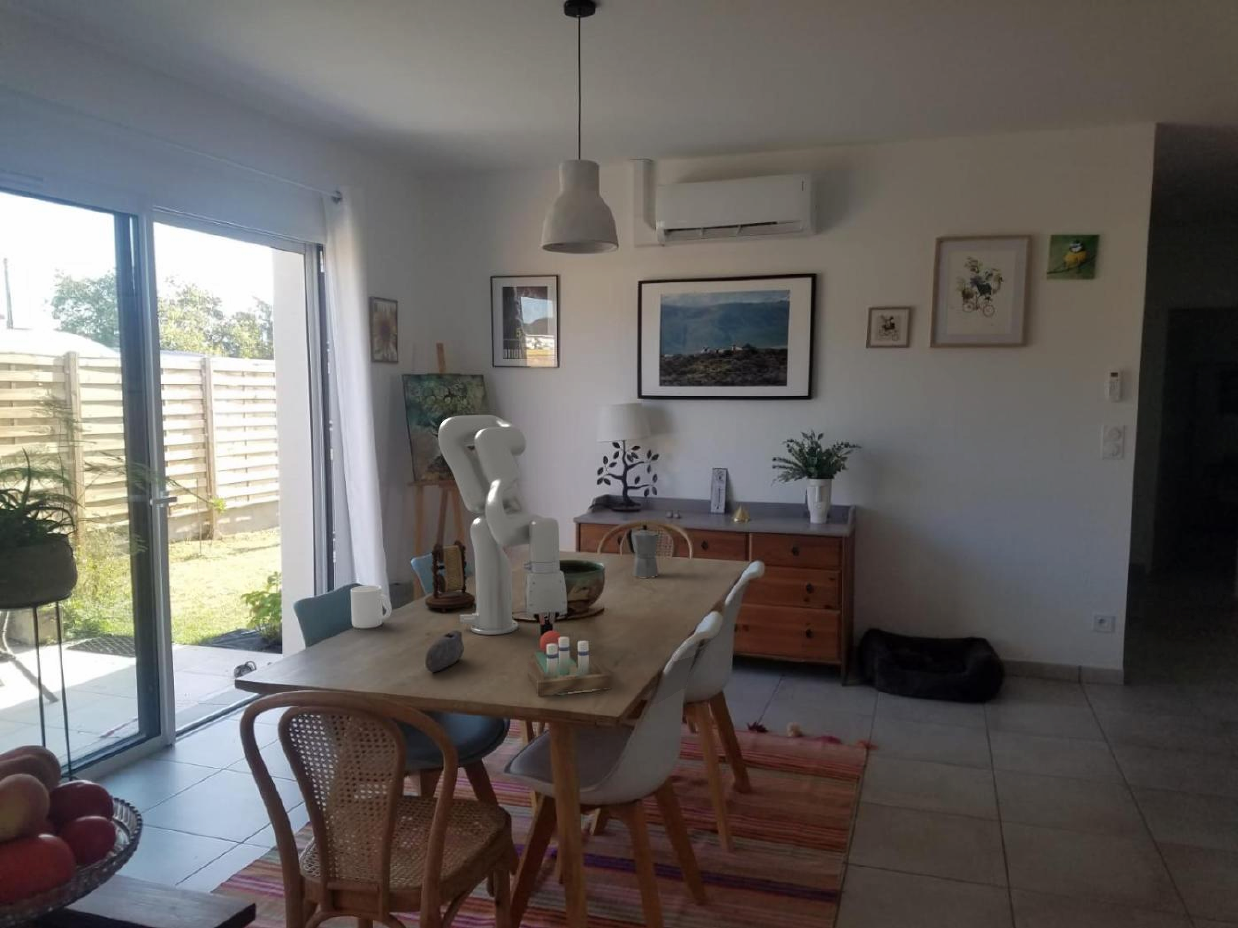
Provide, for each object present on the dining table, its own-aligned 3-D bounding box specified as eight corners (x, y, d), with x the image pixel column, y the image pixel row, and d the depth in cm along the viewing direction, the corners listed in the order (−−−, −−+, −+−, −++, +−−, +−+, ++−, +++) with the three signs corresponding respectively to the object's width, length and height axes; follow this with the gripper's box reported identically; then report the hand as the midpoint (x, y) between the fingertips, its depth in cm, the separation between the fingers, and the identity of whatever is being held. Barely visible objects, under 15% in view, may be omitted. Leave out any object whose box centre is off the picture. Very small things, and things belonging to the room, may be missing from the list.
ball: (540, 659, 199) (539, 634, 199) (540, 651, 205) (539, 628, 205) (564, 658, 200) (564, 634, 200) (564, 650, 206) (563, 627, 205)
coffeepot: (668, 576, 289) (668, 525, 287) (649, 580, 282) (649, 528, 281) (636, 570, 300) (636, 520, 298) (618, 574, 293) (617, 523, 292)
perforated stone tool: (436, 677, 188) (435, 647, 187) (416, 675, 189) (415, 645, 189) (469, 657, 202) (469, 629, 201) (450, 655, 203) (450, 628, 203)
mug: (400, 623, 233) (398, 586, 232) (382, 631, 225) (381, 593, 224) (364, 619, 237) (363, 584, 236) (345, 627, 229) (344, 590, 228)
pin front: (559, 676, 187) (558, 640, 186) (559, 673, 189) (558, 636, 189) (569, 676, 187) (569, 639, 186) (569, 672, 190) (569, 636, 189)
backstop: (538, 696, 175) (537, 682, 175) (527, 675, 188) (527, 662, 188) (611, 688, 179) (611, 675, 179) (596, 668, 192) (596, 655, 192)
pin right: (578, 681, 184) (577, 644, 183) (578, 677, 186) (577, 640, 185) (589, 681, 184) (588, 643, 183) (588, 677, 186) (588, 640, 186)
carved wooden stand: (440, 615, 240) (438, 547, 238) (416, 606, 251) (414, 541, 250) (484, 606, 250) (482, 541, 248) (459, 598, 261) (457, 535, 259)
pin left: (547, 684, 182) (546, 646, 181) (547, 680, 184) (546, 643, 184) (558, 684, 182) (557, 646, 181) (558, 680, 185) (557, 643, 184)
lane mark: (534, 653, 204) (534, 652, 204) (566, 650, 206) (566, 649, 206) (557, 695, 175) (557, 694, 175) (594, 691, 177) (594, 690, 177)
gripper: (517, 572, 204) (519, 645, 205) (576, 567, 208) (578, 639, 209) (513, 566, 211) (515, 637, 212) (570, 562, 215) (572, 631, 216)
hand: (546, 638), depth 211 cm, fingers closed
